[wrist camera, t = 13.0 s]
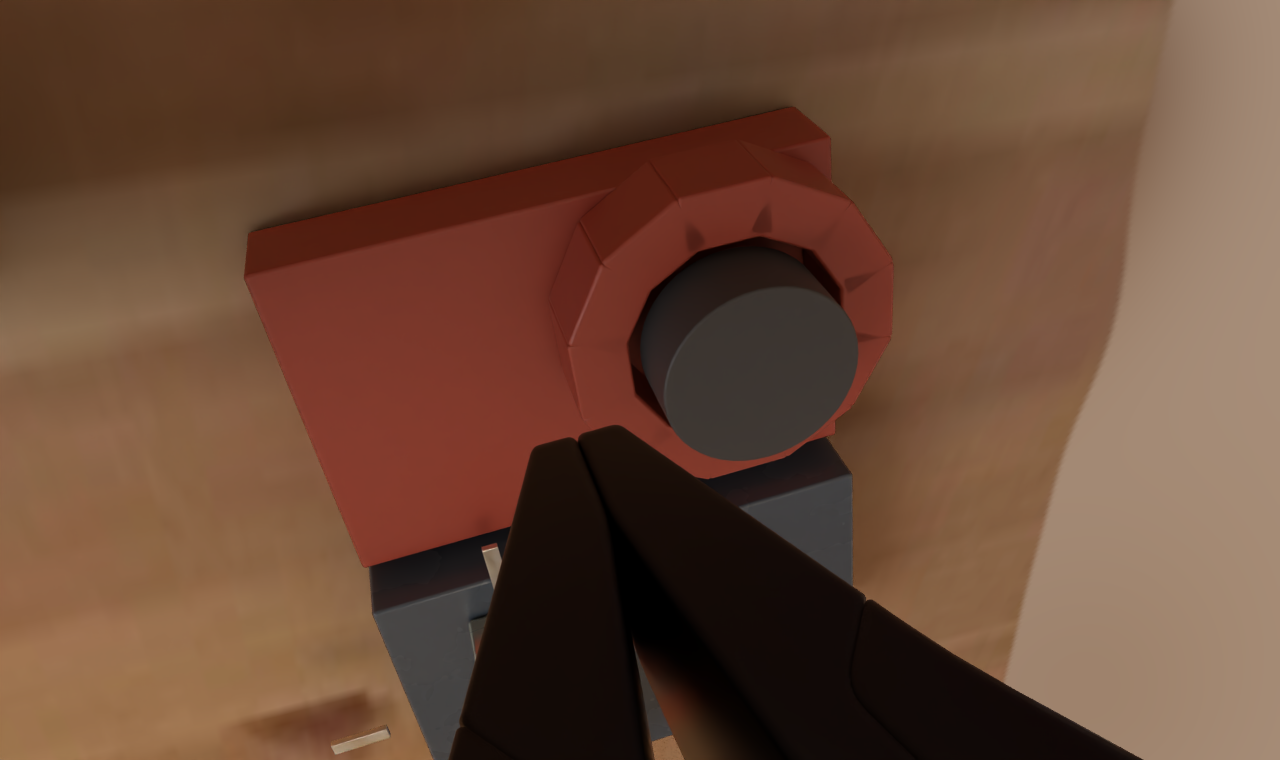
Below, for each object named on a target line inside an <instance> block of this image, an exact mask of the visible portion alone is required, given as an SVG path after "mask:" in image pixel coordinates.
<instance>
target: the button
mask: <svg viewBox="0 0 1280 760" xmlns="http://www.w3.org/2000/svg"><path fill="white" fill-rule="evenodd" d="M858 353H859V352H858V340H857V336H856V332H855V329H854V326H853V324H852V321H851V320H850V318H849V317H848V315H847V313H846V312H845V311H844V310H843V308H842V307H841V306H840V305H839V304H838V303H837V302H836V300H835V299H834V298H833V297H832V296H831V295H830V294H829V293H828V291H827V290H826V289H825V288H824V287H823V286H822V285H821V283H820V282H819V281H818V280H817V279H816V278H815V277H814V276H813V274H812V273H811V272H810V271H809V270H808V269H807V268H806V267H805V266H804V265H803V264H802V263H801V262H799V261H798V260H797V259H796V258H794V257H792V256H790V255H788V254H786V253H784V252H781V251H778V250H776V249H771V248H766V247H757V246H745V247H735V248H730V249H725V250H722V251H719V252H716V253H713V254H710V255H708V256H706V257H704V258H701V259H700V260H698V261H696V262H694V263H693V264H691V265H689V266H688V267H687V268H685V269H684V270H683V271H681V272H680V273H679V274H677V275H676V276H675V277H674V278H673V279H672V280H671V281H670V282H669V283H668V284H667V285H666V286H665V288H664V289H663V290H662V291H661V292H660V294H659V295H658V297H657V298H656V300H655V301H654V303H653V304H652V306H651V308H650V310H649V312H648V314H647V317H646V320H645V322H644V325H643V330H642V334H641V341H640V356H641V363H642V367H643V370H644V373H645V375H646V378H647V380H648V382H649V384H650V386H651V388H652V390H653V392H654V394H655V396H656V398H657V400H658V402H659V404H660V406H661V408H662V410H663V412H664V414H665V416H666V418H667V420H668V422H669V423H670V425H671V427H672V428H673V430H674V432H675V433H676V434H677V436H678V437H679V438H680V439H681V440H682V441H683V442H684V443H685V444H687V445H688V446H689V447H690V448H692V449H694V450H696V451H697V452H699V453H701V454H704V455H706V456H709V457H712V458H716V459H720V460H728V461H748V460H756V459H761V458H765V457H769V456H772V455H775V454H778V453H781V452H783V451H785V450H787V449H790V448H792V447H794V446H795V445H797V444H799V443H801V442H802V441H804V440H805V439H807V438H808V437H810V436H811V435H813V434H814V433H815V432H816V431H817V430H819V429H820V428H821V427H822V426H823V425H824V424H825V423H826V422H827V421H828V420H829V419H830V418H831V417H832V416H833V415H834V413H835V412H836V411H837V410H838V408H839V407H840V405H841V404H842V402H843V401H844V399H845V398H846V396H847V394H848V392H849V390H850V388H851V386H852V383H853V380H854V377H855V374H856V369H857V365H858Z"/></svg>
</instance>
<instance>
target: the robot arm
mask: <svg viewBox="0 0 1280 760" xmlns="http://www.w3.org/2000/svg"><path fill="white" fill-rule="evenodd" d="M634 647H635V649H634ZM635 650H636V653H637V655H638V658H639V661H640V663H641V665H642V668H643V670H644V672H645V675H646V677H647V679H648V682H649V684H650V686H651V688H652V690H653V692H654V695H655V697H656V699H657V701H658V703H659V705H660V708H661V710H662V712H663V714H664V716H665V718H666V720H667V723H668V725H669V727H670V729H671V731H672V733H673V736H674V738H675V740H676V742H677V744H678V746H679V749H680V751H681V753H682V755H683V757H684V759H685V760H1143V759H1141V758H1139V757H1137V756H1135V755H1134V754H1132V753H1130V752H1128V751H1126V750H1124V749H1123V748H1121V747H1119V746H1117V745H1115V744H1113V743H1112V742H1110V741H1108V740H1106V739H1104V738H1102V737H1101V736H1099V735H1097V734H1095V733H1093V732H1091V731H1090V730H1088V729H1086V728H1084V727H1082V726H1080V725H1079V724H1077V723H1075V722H1073V721H1071V720H1069V719H1068V718H1066V717H1064V716H1062V715H1060V714H1059V713H1057V712H1054V711H1053V710H1051V709H1049V708H1048V707H1046V706H1044V705H1042V704H1040V703H1038V702H1036V701H1035V700H1033V699H1031V698H1029V697H1027V696H1025V695H1024V694H1022V693H1020V692H1018V691H1016V690H1015V689H1012V688H1011V687H1009V686H1007V685H1006V684H1004V683H1002V682H1001V681H999V680H997V679H996V678H994V677H992V676H990V675H989V674H987V673H985V672H983V671H982V670H980V669H978V668H977V667H975V666H973V665H971V664H970V663H968V662H966V661H964V660H963V659H961V658H959V657H958V656H956V655H954V654H952V653H951V652H949V651H948V650H946V649H945V648H943V647H942V646H940V645H939V644H937V643H936V642H934V641H933V640H931V639H930V638H928V637H926V636H925V635H923V634H922V633H920V632H919V631H917V630H916V629H914V628H913V627H911V626H910V625H908V624H907V623H905V622H904V621H902V620H901V619H899V618H898V617H896V616H895V615H893V614H892V613H891V612H889V611H888V610H886V609H885V608H883V607H882V606H881V605H879V604H878V603H876V602H875V601H873V600H867V601H866V597H865V595H864V594H863V593H861V592H860V591H858V590H857V589H856V588H854V587H853V586H851V585H850V584H848V583H847V582H846V581H844V580H843V579H841V578H840V577H838V576H837V575H835V574H834V573H833V572H831V571H830V570H828V569H827V568H825V567H824V566H823V565H821V564H820V563H818V562H817V561H815V560H814V559H812V558H811V557H810V556H808V555H807V554H805V553H804V552H802V551H801V550H800V549H798V548H797V547H795V546H794V545H792V544H791V543H789V542H788V541H787V540H785V539H784V538H782V537H781V536H779V535H778V534H777V533H775V532H774V531H772V530H771V529H769V528H768V527H766V526H765V525H764V524H762V523H761V522H759V521H758V520H756V519H755V518H754V517H752V516H751V515H749V514H748V513H746V512H745V511H743V510H742V509H741V508H739V507H738V506H736V505H735V504H733V503H732V502H731V501H729V500H728V499H726V498H725V497H723V496H722V495H720V494H719V493H718V492H716V491H715V490H713V489H712V488H710V487H709V486H708V485H706V484H705V483H703V482H702V481H700V480H699V479H697V478H696V477H695V476H693V475H692V474H690V473H689V472H687V471H686V470H685V469H683V468H682V467H680V466H679V465H677V464H676V463H674V462H673V461H672V460H670V459H669V458H667V457H666V456H664V455H663V454H662V453H660V452H659V451H657V450H656V449H654V448H653V447H651V446H650V445H649V444H647V443H646V442H644V441H643V440H641V439H640V438H639V437H637V436H636V435H634V434H633V433H631V432H630V431H628V430H627V429H626V428H624V427H623V426H620V425H610V426H607V427H603V428H599V429H596V430H592V431H588V432H585V433H582V434H581V435H580V436H579V437H578V442H577V441H576V440H575V439H574V438H571V437H567V438H563V439H559V440H556V441H552V442H548V443H545V444H541V445H538V446H536V447H534V448H533V450H532V451H531V454H530V457H529V461H528V465H527V468H526V472H525V476H524V480H523V483H522V487H521V491H520V495H519V498H518V502H517V506H516V510H515V513H514V517H513V521H512V525H511V528H510V532H509V536H508V540H507V543H506V547H505V551H504V555H503V558H502V562H501V566H500V570H499V573H498V577H497V581H496V585H495V588H494V592H493V596H492V600H491V603H490V607H489V611H488V615H487V618H486V622H485V626H484V630H483V633H482V637H481V641H480V645H479V648H478V652H477V656H476V660H475V663H474V667H473V671H472V675H471V678H470V682H469V686H468V690H467V693H466V697H465V701H464V705H463V708H462V712H461V716H460V720H459V724H460V727H459V728H458V729H457V730H456V733H455V737H454V740H453V744H452V748H451V751H450V755H449V759H448V760H655V759H654V753H653V747H652V742H651V736H650V730H649V724H648V719H647V713H646V707H645V701H644V696H643V690H642V684H641V679H640V674H639V669H638V664H637V659H636V654H635Z"/></svg>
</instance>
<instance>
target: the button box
mask: <svg viewBox="0 0 1280 760" xmlns="http://www.w3.org/2000/svg"><path fill="white" fill-rule="evenodd" d="M745 246H757V247H766V248H771V249H776V250H778V251H781V252H784V253H786V254H788V255H790V256H792V257H794V258H796V259H797V260H798V261H799V262H801V263H802V264H803V265H804V266H805V267H806V268H807V269H808V270H809V271H810V272H811V273H812V274H813V276H814V277H815V278H816V279H817V280H818V281H819V282H820V283H821V285H822V286H823V287H824V288H825V289H826V290H827V291H828V293H829V294H830V295H831V296H832V297H833V298H834V299H835V300H836V302H837V303H838V304H839V305H840V306H841V307H842V308H843V310H844V311H845V312H846V313H847V315H848V317H849V318H850V320H851V321H852V324H853V326H854V329H855V332H856V336H857V340H858V352H859V353H858V365H857V369H856V374H855V377H854V380H853V383H852V386H851V388H850V390H849V392H848V394H847V396H846V398H845V399H844V401H843V402H842V404H841V405H840V407H839V408H838V410H837V411H836V412H835V413H834V415H833V416H832V417H831V418H830V419H829V420H828V421H827V422H826V423H825V424H824V425H823V426H822V427H821V428H820V429H819V430H817V431H816V432H815V433H814V434H813V435H811V436H810V437H808V438H807V439H805V440H804V441H802V442H801V443H799V444H797V445H795V446H794V447H792V448H790V449H787V450H785V451H783V452H781V453H778V454H775V455H772V456H769V457H765V458H761V459H756V460H748V461H728V460H720V459H716V458H712V457H709V456H706V455H704V454H701V453H699V452H697V451H696V450H694V449H692V448H690V447H689V446H688V445H687V444H685V443H684V442H683V441H682V440H681V439H680V438H679V437H678V436H677V434H676V433H675V432H674V430H673V428H672V427H671V425H670V423H669V422H668V420H667V418H666V416H665V414H664V412H663V410H662V408H661V406H660V404H659V402H658V400H657V398H656V396H655V394H654V392H653V390H652V388H651V386H650V384H649V382H648V380H647V378H646V375H645V373H644V370H643V367H642V363H641V356H640V341H641V334H642V330H643V325H644V322H645V320H646V317H647V314H648V312H649V310H650V308H651V306H652V304H653V303H654V301H655V300H656V298H657V297H658V295H659V294H660V292H661V291H662V290H663V289H664V288H665V286H666V285H667V284H668V283H669V282H670V281H671V280H672V279H673V278H674V277H675V276H676V275H677V274H679V273H680V272H681V271H683V270H684V269H685V268H687V267H688V266H689V265H691V264H693V263H694V262H696V261H698V260H700V259H701V258H704V257H706V256H708V255H710V254H713V253H716V252H719V251H722V250H725V249H730V248H735V247H745ZM893 273H894V264H893V262H892V257H891V256H890V254H889V253H888V251H887V250H886V248H885V247H884V246H883V244H882V243H881V241H880V240H879V238H878V237H877V235H876V234H875V233H874V231H873V230H872V228H871V227H870V225H869V224H868V223H867V221H866V220H865V218H864V217H863V215H862V214H861V212H860V211H859V210H858V208H857V207H856V205H855V204H854V202H853V201H852V200H850V199H849V198H848V197H847V196H846V195H845V194H844V193H843V192H842V191H841V190H840V189H838V188H837V187H836V186H835V185H834V184H833V183H832V182H831V138H830V136H829V135H828V134H826V133H825V132H824V131H823V130H822V129H820V128H819V127H818V126H817V125H816V124H814V123H813V122H812V121H811V120H810V119H808V118H807V117H806V116H805V115H804V114H802V113H801V112H800V111H799V110H798V109H796V108H795V107H789V108H785V109H781V110H776V111H772V112H768V113H763V114H759V115H755V116H751V117H746V118H742V119H738V120H733V121H729V122H725V123H720V124H716V125H712V126H707V127H703V128H699V129H694V130H690V131H686V132H682V133H677V134H673V135H669V136H664V137H660V138H656V139H651V140H647V141H643V142H638V143H634V144H630V145H625V146H621V147H617V148H613V149H608V150H604V151H600V152H595V153H591V154H587V155H582V156H578V157H574V158H569V159H565V160H561V161H556V162H552V163H548V164H543V165H539V166H535V167H531V168H526V169H522V170H518V171H513V172H509V173H505V174H500V175H496V176H492V177H487V178H483V179H479V180H474V181H470V182H466V183H462V184H457V185H453V186H449V187H444V188H440V189H436V190H431V191H427V192H423V193H418V194H414V195H410V196H405V197H401V198H397V199H393V200H388V201H384V202H380V203H375V204H371V205H367V206H362V207H358V208H354V209H349V210H345V211H341V212H336V213H332V214H328V215H323V216H319V217H315V218H311V219H306V220H302V221H298V222H293V223H289V224H285V225H280V226H276V227H272V228H267V229H263V230H259V231H254V232H251V233H249V234H248V242H247V252H246V262H245V272H244V280H245V282H246V285H247V287H248V289H249V292H250V294H251V297H252V299H253V302H254V304H255V306H256V309H257V311H258V314H259V316H260V318H261V321H262V323H263V326H264V328H265V331H266V333H267V335H268V338H269V340H270V343H271V345H272V348H273V350H274V352H275V355H276V357H277V360H278V362H279V365H280V367H281V369H282V372H283V374H284V377H285V379H286V382H287V384H288V386H289V389H290V391H291V394H292V396H293V399H294V401H295V403H296V406H297V408H298V411H299V413H300V416H301V418H302V420H303V423H304V425H305V428H306V430H307V433H308V435H309V437H310V440H311V442H312V445H313V447H314V450H315V452H316V454H317V457H318V459H319V462H320V464H321V467H322V469H323V471H324V474H325V476H326V479H327V481H328V484H329V486H330V488H331V491H332V493H333V496H334V498H335V501H336V503H337V505H338V508H339V510H340V513H341V515H342V518H343V520H344V522H345V525H346V527H347V530H348V532H349V535H350V537H351V539H352V542H353V544H354V547H355V549H356V552H357V554H358V556H359V559H360V561H361V564H362V566H363V567H369V566H373V565H376V564H380V563H383V562H387V561H391V560H394V559H398V558H401V557H405V556H408V555H412V554H415V553H419V552H422V551H426V550H429V549H433V548H436V547H440V546H443V545H447V544H450V543H454V542H457V541H461V540H464V539H468V538H471V537H475V536H478V535H482V534H485V533H489V532H492V531H496V530H499V529H503V528H507V527H510V526H511V525H512V521H513V517H514V513H515V510H516V506H517V502H518V498H519V495H520V491H521V487H522V483H523V480H524V476H525V472H526V468H527V465H528V461H529V457H530V454H531V451H532V450H533V448H534V447H536V446H538V445H541V444H545V443H548V442H552V441H556V440H559V439H563V438H567V437H571V438H574V439H575V440H576V441H577V442H578V437H579V436H580V435H581V434H582V433H585V432H588V431H592V430H596V429H599V428H603V427H607V426H610V425H620V426H623V427H624V428H626V429H627V430H628V431H630V432H631V433H633V434H634V435H636V436H637V437H639V438H640V439H641V440H643V441H644V442H646V443H647V444H649V445H650V446H651V447H653V448H654V449H656V450H657V451H659V452H660V453H662V454H663V455H664V456H666V457H667V458H669V459H670V460H672V461H673V462H674V463H676V464H677V465H679V466H680V467H682V468H683V469H685V470H686V471H687V472H689V473H690V474H692V475H693V476H695V477H698V478H704V479H709V478H715V477H719V476H722V475H726V474H729V473H733V472H736V471H740V470H743V469H747V468H750V467H754V466H757V465H761V464H764V463H768V462H771V461H775V460H778V459H782V458H785V457H786V456H789V455H791V454H792V453H793V452H795V451H796V450H797V449H799V448H800V447H801V446H802V445H804V444H805V443H806V442H809V441H812V440H816V439H819V438H823V437H826V436H830V435H833V434H835V420H836V419H837V418H839V417H840V416H841V415H843V414H844V413H845V412H846V411H848V410H849V409H850V408H851V407H852V406H851V405H853V404H854V403H855V401H856V400H857V398H858V396H859V394H860V392H861V391H862V389H863V387H864V385H865V384H866V382H867V380H868V378H869V377H870V375H871V373H872V371H873V370H874V368H875V366H876V364H877V363H878V361H879V359H880V357H881V356H882V354H883V352H884V350H885V348H886V347H887V345H888V343H889V341H890V340H891V335H892V313H893Z"/></svg>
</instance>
